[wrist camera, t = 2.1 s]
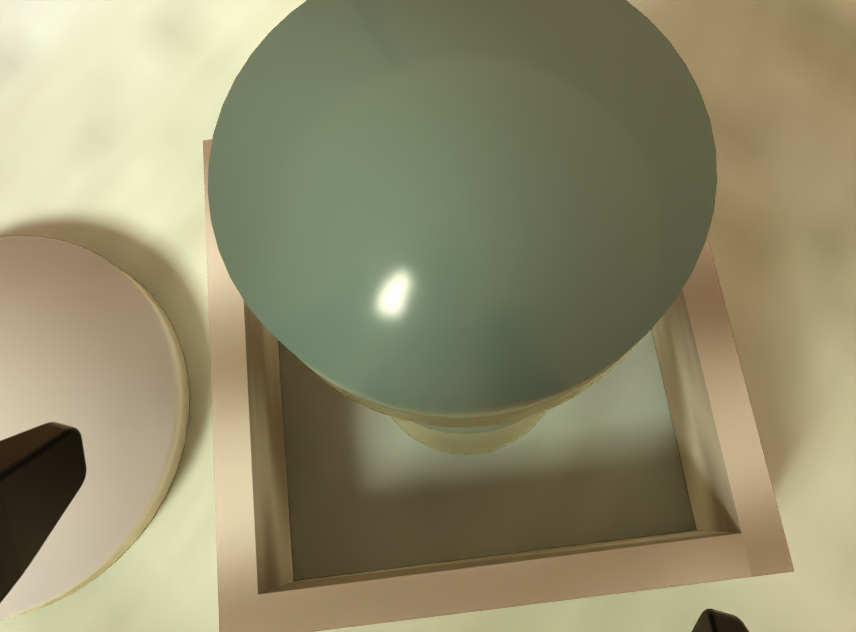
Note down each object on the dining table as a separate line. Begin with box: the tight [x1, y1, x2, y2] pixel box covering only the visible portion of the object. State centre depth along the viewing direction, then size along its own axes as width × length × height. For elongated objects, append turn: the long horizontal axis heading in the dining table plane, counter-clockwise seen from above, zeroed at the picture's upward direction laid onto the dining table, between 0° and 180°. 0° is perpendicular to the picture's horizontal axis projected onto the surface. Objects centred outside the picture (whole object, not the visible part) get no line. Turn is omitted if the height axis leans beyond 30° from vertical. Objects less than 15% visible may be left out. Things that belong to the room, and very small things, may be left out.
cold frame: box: [203, 139, 794, 632], centre depth 20 cm, size 14×14×4 cm
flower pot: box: [208, 0, 717, 454], centre depth 16 cm, size 7×7×13 cm
